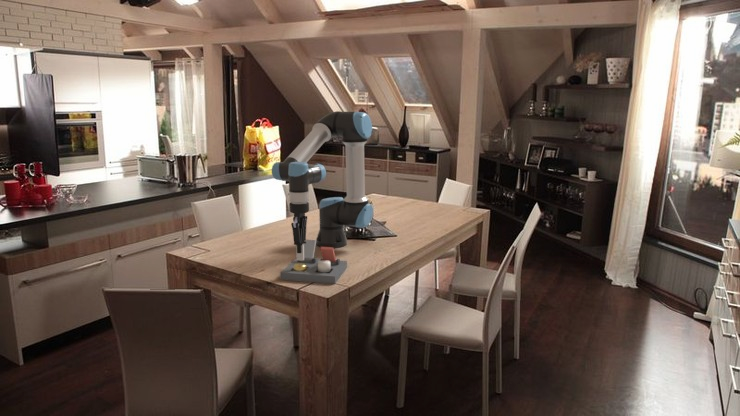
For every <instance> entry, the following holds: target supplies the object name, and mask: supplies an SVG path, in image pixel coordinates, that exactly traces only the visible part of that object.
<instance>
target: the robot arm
mask: <svg viewBox="0 0 740 416" xmlns="http://www.w3.org/2000/svg"><path fill="white" fill-rule="evenodd" d="M372 123H373V122H372V120H371V117H370V116H369V114H368V113H366V112H363V111H337V110H336V111H332V112H329V113H328V114H326V115H324V116H322V117H321V118H320V119H319V120H318V121H316V123H314V125H313V126H312V129H311V131H310V132H309V133H308V134H307V135H306V137H305V138H304V139H303V140H302V141H301V142H299V144H298V145H297V146H296V147H295V148H294V150H293V151H292V152H291V153H289V155H288V156H287V157H286V158H285V159H284V160H283V161H278V162H277V161H276V162H275V163H273V165H272V167H271V175H272V178H273V179H275V180H276V181H282V182H288V188H289V189H288V193H287V196H289V197H288V198H289V204H288V206H289V212H290V213H291V214H293V217H292V218H293V219H292V222H291V228H292V237H293V245H294V246H296V248H295V250H296V251H295V252H296V254H295V255H296V258H297V260H300V261H303V260H304V244H303V243H305V244H306V242H305V240H307V223H308V216H307V215H306V213H308V212H309V211H310V203H309V202H310V195H309V194H310V191H309V189H310V188H309V186H310V185H314V184H317V183H320V182H322V181H324V180H325V179H326V176H327V171H326V168H325V166H324V165H323V164H321V163H312V164H309V163H308V162H309V161H310V159H311V158H312V157H313V156H314V155H315V154H316V153H317V152H318V150H319V149H320V148H321V147H322V146H323V144H325V142H329V141H330V140H331V139H332V138H337V137H339V138H341V143H342V144H343V145H344V146H345V174H346V175H345V176H346V177H345V178H346V179H345V180H346V196H345V197H344V198H343V197H342V196H334V197H327V198H323V199H321V200H320V201H319V207H318V210H319V211H318V212H319V214H318V215H319V230H318V233H317V236H316V239H315V240H316V247H320V248H321V247H333V248H334V249H338V248H342V247H345V246H347V244H348V241H347V240H348V239H347V237H346V233H345V230H344V226H346V227H353V228H366V227H368V226H369V225H370V223H371V222H372V219H373V216H374V207H373V204H371V203H369V198H368V197H367V196H366V185H365V184H366V178H365V176H366V174H365V170H366V169H365V145H366V143H367V142H368V139H369V138H371V136H372V132H373V124H372Z"/></svg>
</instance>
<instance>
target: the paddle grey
mask: <svg viewBox="0 0 740 416" xmlns="http://www.w3.org/2000/svg"><path fill="white" fill-rule="evenodd" d="M305 242H306V244H305V243H303V244H304V260H303V261H305V262H313V258H314V257H315V250H316V247H317V245H316V239H306V240H305Z"/></svg>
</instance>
